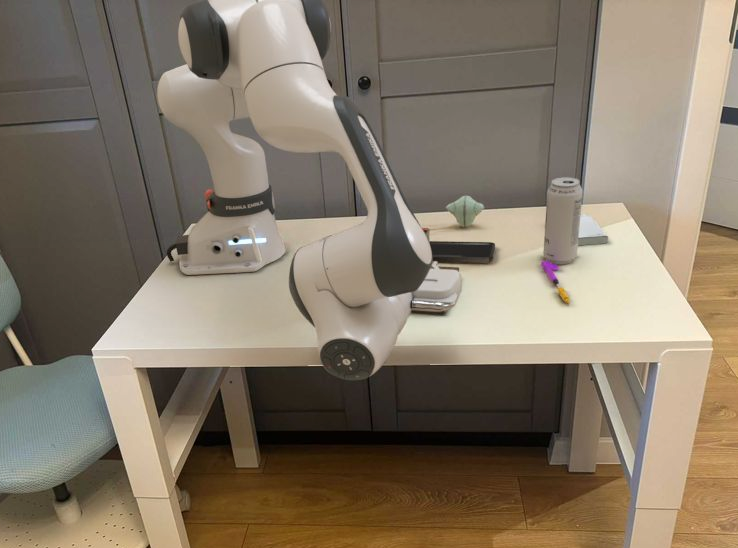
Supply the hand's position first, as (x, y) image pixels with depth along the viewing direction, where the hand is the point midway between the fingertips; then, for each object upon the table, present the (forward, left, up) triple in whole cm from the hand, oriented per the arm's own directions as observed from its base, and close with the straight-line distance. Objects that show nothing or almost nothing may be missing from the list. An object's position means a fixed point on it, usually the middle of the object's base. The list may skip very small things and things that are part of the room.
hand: (403, 264), depth 112 cm
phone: (+15, +26, -11) cm, 32 cm away
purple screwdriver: (+29, +8, -12) cm, 32 cm away
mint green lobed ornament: (+21, +40, -12) cm, 47 cm away
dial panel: (+5, +11, -11) cm, 17 cm away
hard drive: (+41, +29, -12) cm, 52 cm away
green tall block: (+5, +11, -9) cm, 15 cm away
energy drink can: (+33, +18, -12) cm, 39 cm away
